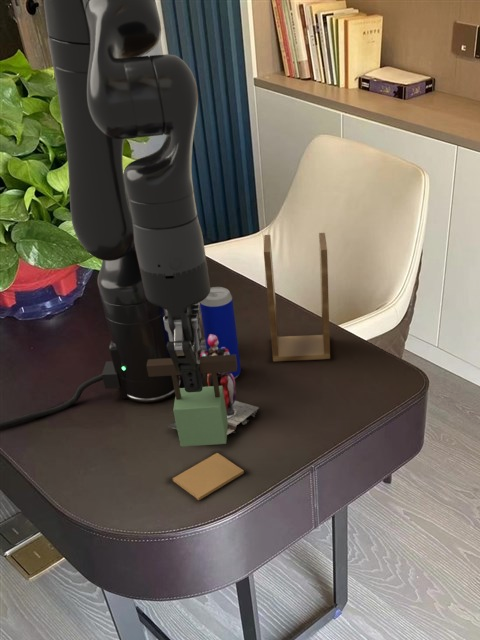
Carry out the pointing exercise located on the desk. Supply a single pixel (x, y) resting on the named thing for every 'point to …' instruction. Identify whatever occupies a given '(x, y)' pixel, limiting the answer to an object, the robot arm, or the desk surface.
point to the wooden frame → (298, 345)
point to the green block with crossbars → (198, 401)
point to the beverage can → (220, 321)
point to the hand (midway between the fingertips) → (194, 385)
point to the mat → (208, 476)
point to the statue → (227, 390)
